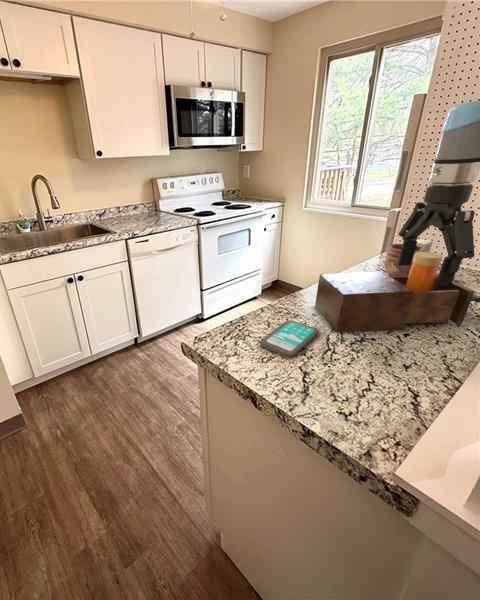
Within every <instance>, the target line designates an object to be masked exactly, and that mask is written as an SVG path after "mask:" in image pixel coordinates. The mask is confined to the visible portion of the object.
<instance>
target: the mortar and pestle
mask: <svg viewBox="0 0 480 600" xmlns="http://www.w3.org/2000/svg"><path fill="white" fill-rule="evenodd" d="M417 239H419V236H418V237H417ZM413 241H416V240H413ZM402 245H403V243H391V244H388V245H387V249H386V254H385V257H384V271H385V272H386V273H387V275H388V276H406V275H409V272H410V269H411V266H412V262H411V265H404V266H399V265H398V262H399V258H400V254H401V248H402ZM424 251H425V249H424V248H423V247H419V246H416V248H415V252H414V253H416V252H424ZM413 257H414V255H413ZM412 260H413V258H412Z"/></svg>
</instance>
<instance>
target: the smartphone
mask: <svg viewBox="0 0 480 600" xmlns="http://www.w3.org/2000/svg"><path fill="white" fill-rule="evenodd" d="M318 334H319V329H318V328H317V327H313V326H310V325H307V324H304V323H301V322H297V321H295V320H289V319H288V320H285V322H283V323H282V324H280V325H279V326H278V327H277V328H275V329H274V330H273V331H271V332H270V333H269V334H267V335H266V336H265V337H264V338H263V339H262V340H261V341H260V346H261V347H262V348H264V349H267V350H268V351H271V352H274V353H276V354H279V355H281V356H283V357H286V358H293V357H294V356H296V355H297V354H298V353H299V352H300V351H301V350H303V348H304V347H306V346H307V345H308V344H309V343H310V342H312V340H314V339H315V338H316V336H318Z"/></svg>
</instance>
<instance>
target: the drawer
mask: <svg viewBox="0 0 480 600" xmlns="http://www.w3.org/2000/svg"><path fill="white" fill-rule="evenodd" d="M438 275H439V273H437V274H436V277H435V280H434V283H433V286H432V289H431V291H421V292H414V296H413V299H412V302H411V306H410V309H409V312H408V316H407V319H406V322H405V324H423V323H424V324H425V323H426V324H427V323H428V324H429V323H449V322H450V321H451V322H453V324H456V325H463V323H464V320H465V318H466V316H467V312H468V309H469V307H470V304H471V302H475V303H476V304H477V303H478V304H480V295H479V296H478V295H476V294H475V290H473V289H471V288H469V287H467V286H465V285H463V284H460V283H458V282H456V281H454V280H453V281H452V284H451V285H436V281H437V278H438ZM388 276H389V275H388ZM408 276H409V275H406V276H389V277H391V278H393V279H395V280H396V281H398V282H400V283H401V284H403V285H405V286H406V283H407V279H408Z"/></svg>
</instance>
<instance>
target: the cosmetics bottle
mask: <svg viewBox="0 0 480 600" xmlns="http://www.w3.org/2000/svg"><path fill="white" fill-rule="evenodd" d="M417 239H418V240H416V241H417V245H416V246H419V247H423V248H424V249H425V251H424V252H431V248H432V245H433V242H434V241H433V240H432V239H431V240H430V239H424V238H423V239H422V238H417Z"/></svg>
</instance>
